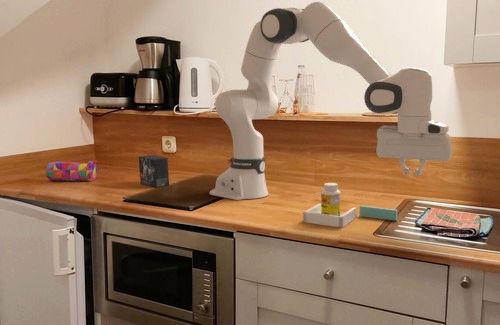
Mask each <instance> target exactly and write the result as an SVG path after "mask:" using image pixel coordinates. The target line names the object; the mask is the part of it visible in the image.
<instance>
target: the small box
mask: <svg viewBox="0 0 500 325" xmlns="http://www.w3.org/2000/svg"><path fill="white" fill-rule="evenodd" d="M138 165H139V166H138V167H139V180H140V181H139V182H140V184H141V185H143V186H147V187H151V188H153V189H157V188H164V187H170V179H169V159H168V157H164V156H159V155H156V154H155V155H154V154H148V155H142V156H138Z"/></svg>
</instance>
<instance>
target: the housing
mask: <svg viewBox="0 0 500 325" xmlns="http://www.w3.org/2000/svg"><path fill="white" fill-rule="evenodd" d="M357 210H358V209H357V207H352V208H350V209H349V210H348V211H345V212H344V213H342V214H341V213H340V216H336V215H328V214H321V203H317V204H316V205H314V206H312V207H310V208H308V209H307V210H305V211H303V216H302V217H303V220H302V222H303V223H307V224H315V225H322V226H329V227H333V228H335V227H336V228H341V229H342V228H344V227H346V226H347V225H348V224H349V223H351V222H352V221H353V220H355V219H356V218H357Z"/></svg>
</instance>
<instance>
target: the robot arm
mask: <svg viewBox="0 0 500 325" xmlns="http://www.w3.org/2000/svg"><path fill="white" fill-rule="evenodd" d="M308 41H310V42H311V43H312V45H313V46H314V47H315V48H316V49H317V50H318V52H320V53H321V55H323V56H324V57H325V58H326V59H327V60H329V61H331V62H333V63H336V64H340V65H343V66H346V67H349V68H351V69H352V70H354V71H355V72H357V73H358V74H359V75H360V76H361V78H363V79H364V80H365V81H366V83H367V84H369V85H368V87H367V88H366V89H365V93H364V97H363V99H364V103H365V106H366V107H367V109H368V110H369V111H371V112H372V113H375V114H377V115H378V114H379V115H387V114H396V115H397V125H385V124H383V125H382V126H380V127H378V128H377V131H376V138H377V144H376V151H375V152H376V153H375V154H376V155H377V157H378V158H385V159H399V161H398V162H399V164H400V166H401V168H402V174H403V175H405V176H406V175H408V176H410V173H411V172H410V171H411V167H407V164H406V163H405V162H407V160H416V161H417V160H419V164H420V166H419V167H417V168H415V169H414V172H415V173H414V176H422V172H423V171H422V170H423V168H424V167H425V165H426V164H427V161H436V162H438V161H439V162H448V161H450V160H451V159H452V158H453V144H452V138H451V136H450V135H449V134H448V132H449V125H447V124H445V123H443V122H439V121H435V120H433V119H432V111H431V104H432V101H433V81H432V80H433V79H432V74H431V73H430V71H428V70H426V69H424V68H418V67H412V66H411V67H409V66H406V67H403V68H401V69H400V70H399V71H398V72H396V73H394V74H393V75H392V74H390V73H389V71H387V70H386V69H385V68H384V67H383V66H382V65H381V64H380V62H378V61H377V59H375V57H373V56H372V55H371V53H369V51H368V50H367V49H366V47H364V46H363V44H362V42H361V41H360V40H359V39H358V37H357V36H356V35H355V33H354V32H353V31H352V30H351V29H350V27H349V25H347V23H346V22H345V21H344V20H343V19H342V18H341V17H340V16H339V15H338V14H337V13H336V12H335V11H334V10H333V9H332V8H330V7H329V6H327V4H325V3H324V2H321V1H314V2H311V3H310V4H308V5H306V6H305V7H304V8H297V7H287V8H286V7H284V8H279V7H277V8H273V9H270V10H269V11H268V10H267V11H266V12H265V13H264V14H263V15H262V17H261V19H260V20H259V21H258V22H256V23H255V25H254V26H253V29H252V30H251V32H250V35H249V37H248V41H247V44H246V48H245V50H244V55H243V59H242V62H241V63H242V64H241V68H240V70H241V74H242V76H243V77H244V78H245V79H246V81H248V84H247V88H246V89H231V90H226V91H223V92H220V93H219V94H218V95H217V97H216V100H215V103H214V104H215V105H214V106H215V111H216V113H217V115H218V116H219V118H220V119H222V121H224V122H225V124H226V125H227V126H228V128H229V130H230V134H231V137H232V147H233V148H232V149H233V157H231V158H230V159H227V164H230V165H229V167H228V168H227V169H226V170H225V171H224V172H222V173H221V174H220V175H219V176H217V178H216V181H215V188H212V189H211V190H210V191H209V195H212V196H215V197H220V198H226V199H229V200H233V201H234V200H236V201H237V200H239V201H240V200H248V199H249V200H250V199H251V200H252V199H260V198H265V197H267V196H268V195H269V191H268V188H267V182H266V176H265V172H266V171H265V170H266V161H265V160H266V159H265V158H266V157H265V156H264V136H263V134H262V133H261V132H260V131H258V130H256V129H255V127H254V125H253V120H263V119H267V118H269V117H272V116H274V115H275V114H276V113H277V112H278V108H279V99H278V96H277V95H276V93H275V92H274V90H273V86H272V85H273V84H272V78H273V74H274V69H275V66H276V61H277V58H278V54H279V51H280V48H281V46H282V45H291V44H296V43H305V42H308Z"/></svg>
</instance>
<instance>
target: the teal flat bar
mask: <svg viewBox="0 0 500 325" xmlns="http://www.w3.org/2000/svg"><path fill="white" fill-rule="evenodd" d="M359 217H365V218H374V219H381V220H388V221H397V220H398V209H394V208H384V207H375V206H368V205H359Z"/></svg>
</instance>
